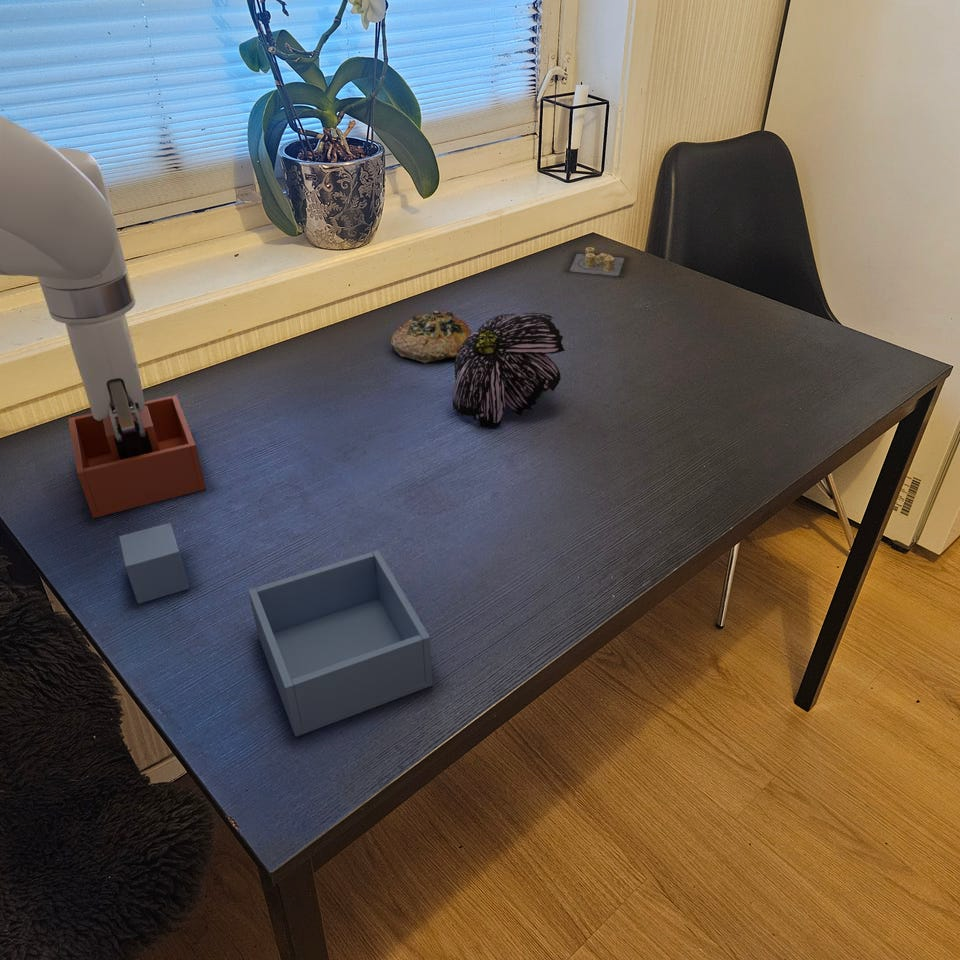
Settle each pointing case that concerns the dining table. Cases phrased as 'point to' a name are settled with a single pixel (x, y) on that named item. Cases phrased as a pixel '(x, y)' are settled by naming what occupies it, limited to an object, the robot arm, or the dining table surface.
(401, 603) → the slate bin
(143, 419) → the terracotta block
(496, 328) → the decorative flower
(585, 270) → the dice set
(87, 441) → the terracotta bin
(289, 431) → the dining table surface
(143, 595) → the slate block
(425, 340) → the bread roll
